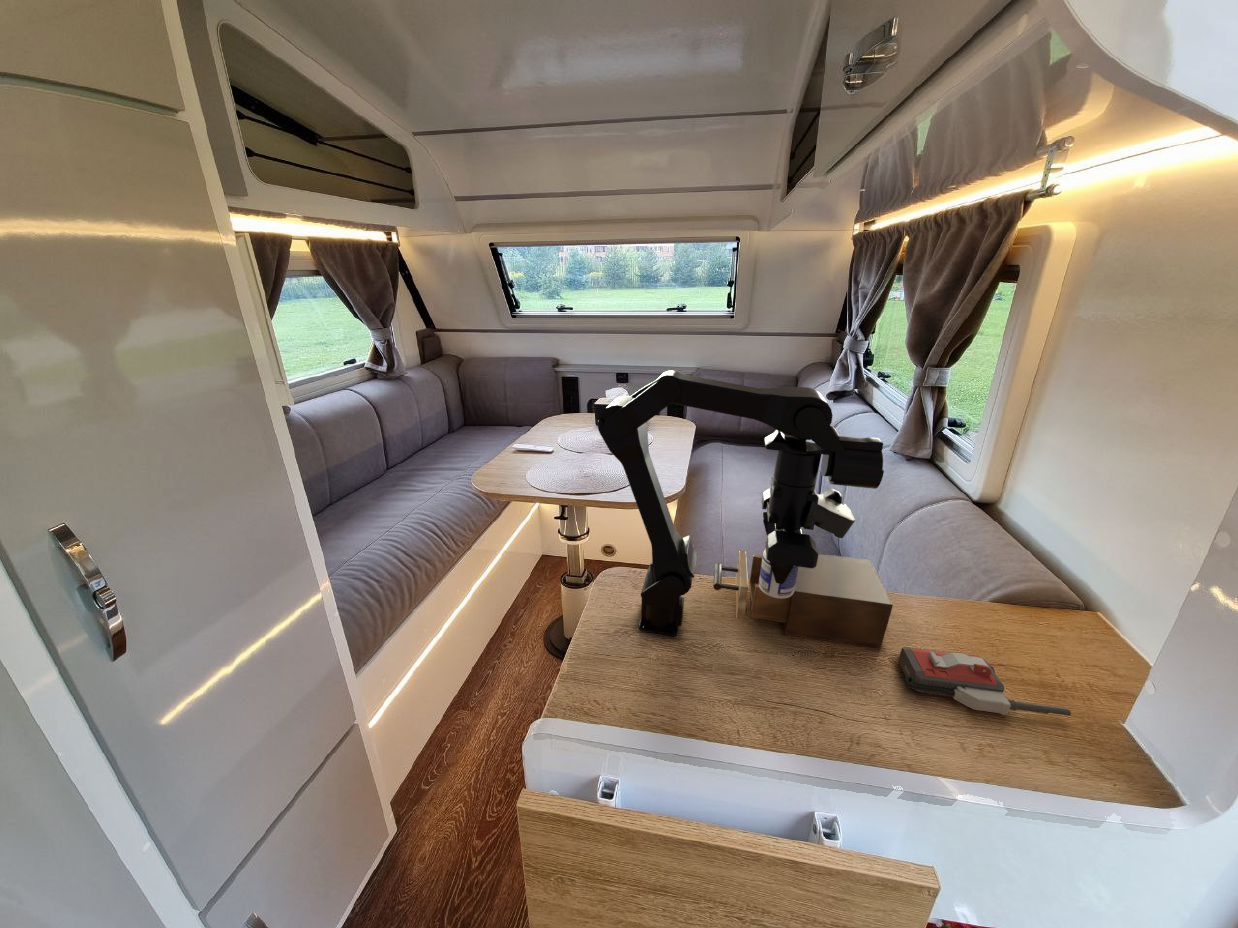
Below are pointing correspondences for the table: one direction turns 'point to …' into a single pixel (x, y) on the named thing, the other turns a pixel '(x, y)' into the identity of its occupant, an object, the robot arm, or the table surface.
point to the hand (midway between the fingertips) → (778, 572)
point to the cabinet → (839, 602)
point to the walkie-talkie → (962, 681)
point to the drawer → (752, 591)
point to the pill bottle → (769, 583)
